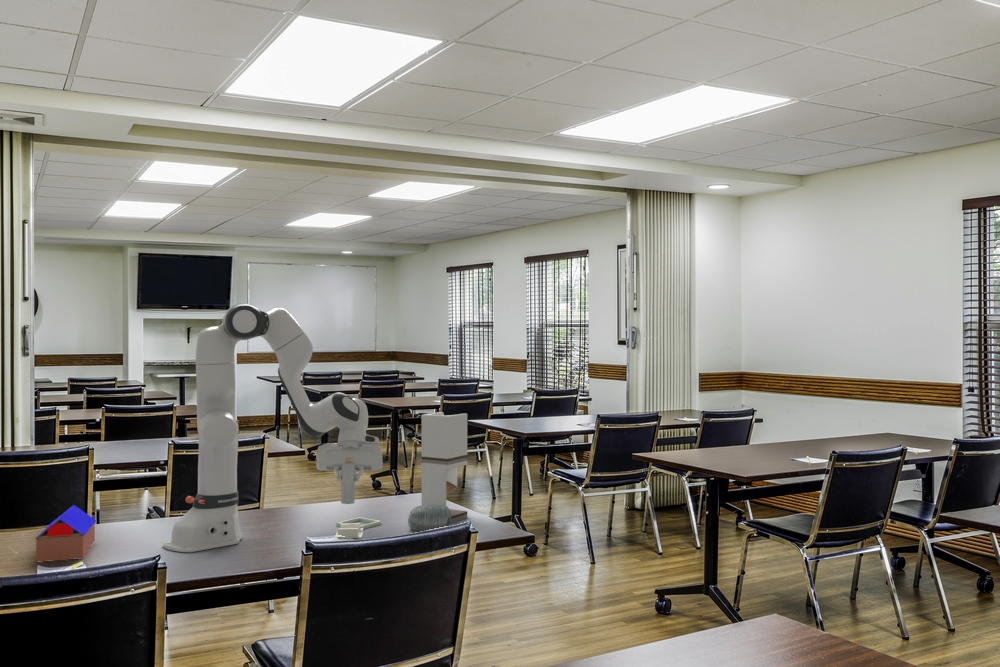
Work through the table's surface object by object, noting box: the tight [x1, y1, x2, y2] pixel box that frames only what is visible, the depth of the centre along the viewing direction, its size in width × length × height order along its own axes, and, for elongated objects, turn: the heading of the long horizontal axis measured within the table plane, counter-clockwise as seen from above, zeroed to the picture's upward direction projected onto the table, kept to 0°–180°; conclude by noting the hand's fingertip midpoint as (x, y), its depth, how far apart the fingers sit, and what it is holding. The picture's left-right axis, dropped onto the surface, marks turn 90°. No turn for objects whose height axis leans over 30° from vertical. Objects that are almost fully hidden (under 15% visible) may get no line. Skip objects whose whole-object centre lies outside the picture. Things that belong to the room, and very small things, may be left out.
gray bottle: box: [340, 458, 356, 505], centre depth 244 cm, size 4×4×14 cm
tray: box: [335, 516, 382, 530], centre depth 256 cm, size 10×10×2 cm
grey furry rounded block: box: [407, 504, 451, 532], centre depth 252 cm, size 14×10×10 cm
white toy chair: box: [334, 522, 365, 539], centre depth 246 cm, size 8×11×3 cm
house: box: [34, 504, 97, 562], centre depth 227 cm, size 12×20×12 cm, turn 18°
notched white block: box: [421, 411, 468, 524], centre depth 269 cm, size 11×11×35 cm
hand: (347, 480), depth 243 cm, fingers closed on gray bottle, 4 cm apart
